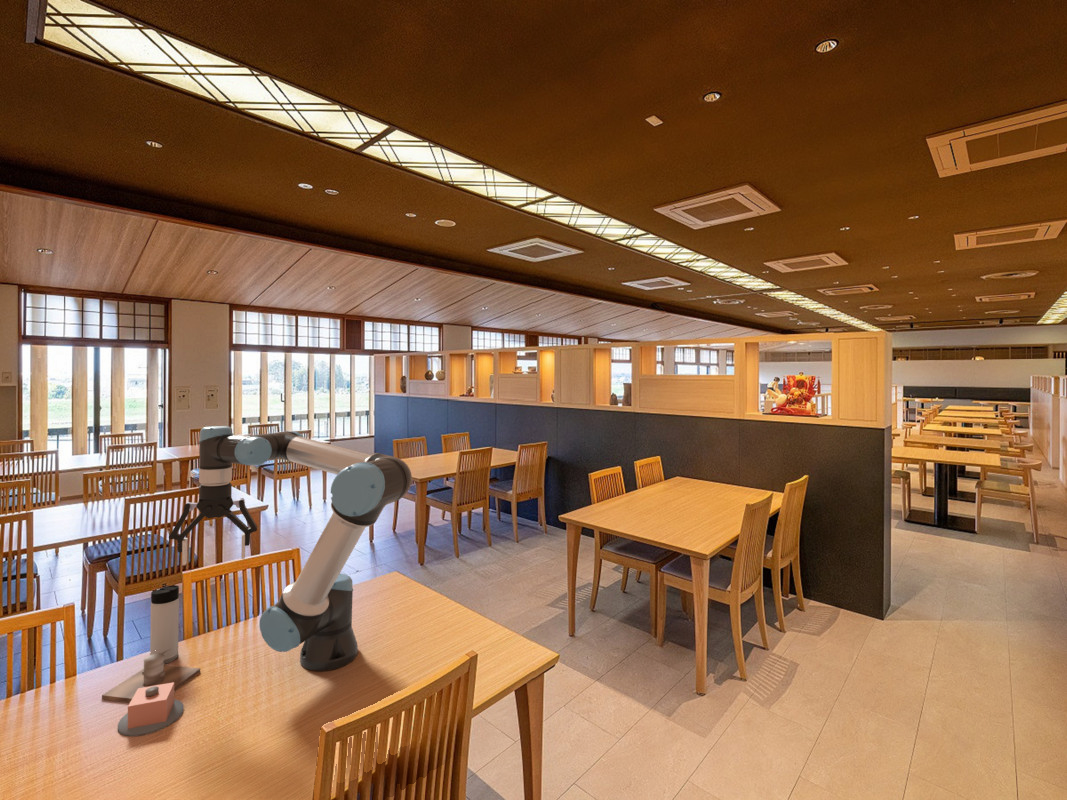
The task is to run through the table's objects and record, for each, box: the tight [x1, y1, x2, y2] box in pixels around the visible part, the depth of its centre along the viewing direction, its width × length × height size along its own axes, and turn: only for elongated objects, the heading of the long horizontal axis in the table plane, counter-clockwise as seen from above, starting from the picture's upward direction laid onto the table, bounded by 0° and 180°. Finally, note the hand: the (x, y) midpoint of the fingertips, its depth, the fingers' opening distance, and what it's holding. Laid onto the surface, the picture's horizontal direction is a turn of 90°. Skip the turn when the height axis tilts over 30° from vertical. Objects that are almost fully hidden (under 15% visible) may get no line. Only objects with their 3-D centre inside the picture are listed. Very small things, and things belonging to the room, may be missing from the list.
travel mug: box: [149, 584, 180, 665], centre depth 138 cm, size 6×7×20 cm
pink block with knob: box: [127, 682, 175, 729], centre depth 115 cm, size 7×7×6 cm
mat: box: [117, 698, 185, 737], centre depth 115 cm, size 12×12×1 cm
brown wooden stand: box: [101, 654, 201, 704], centre depth 127 cm, size 14×14×7 cm
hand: (214, 560), depth 137 cm, fingers open, 13 cm apart
